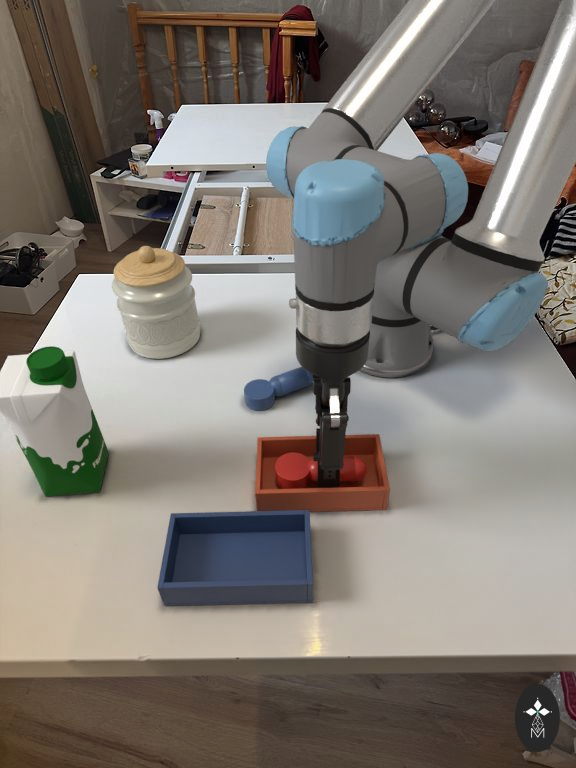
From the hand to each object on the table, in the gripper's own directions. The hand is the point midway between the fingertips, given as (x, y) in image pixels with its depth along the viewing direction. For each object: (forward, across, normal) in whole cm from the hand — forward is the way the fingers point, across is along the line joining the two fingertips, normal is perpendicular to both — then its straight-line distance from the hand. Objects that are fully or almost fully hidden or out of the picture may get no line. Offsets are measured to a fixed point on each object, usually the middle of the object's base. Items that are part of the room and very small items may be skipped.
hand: (326, 475), depth 69 cm
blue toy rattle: (+1, -18, -6) cm, 19 cm away
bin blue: (+1, +12, -11) cm, 16 cm away
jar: (+2, -33, -27) cm, 42 cm away
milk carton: (+2, -2, -34) cm, 34 cm away
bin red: (+1, 0, -1) cm, 2 cm away
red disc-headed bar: (0, 0, -1) cm, 1 cm away
